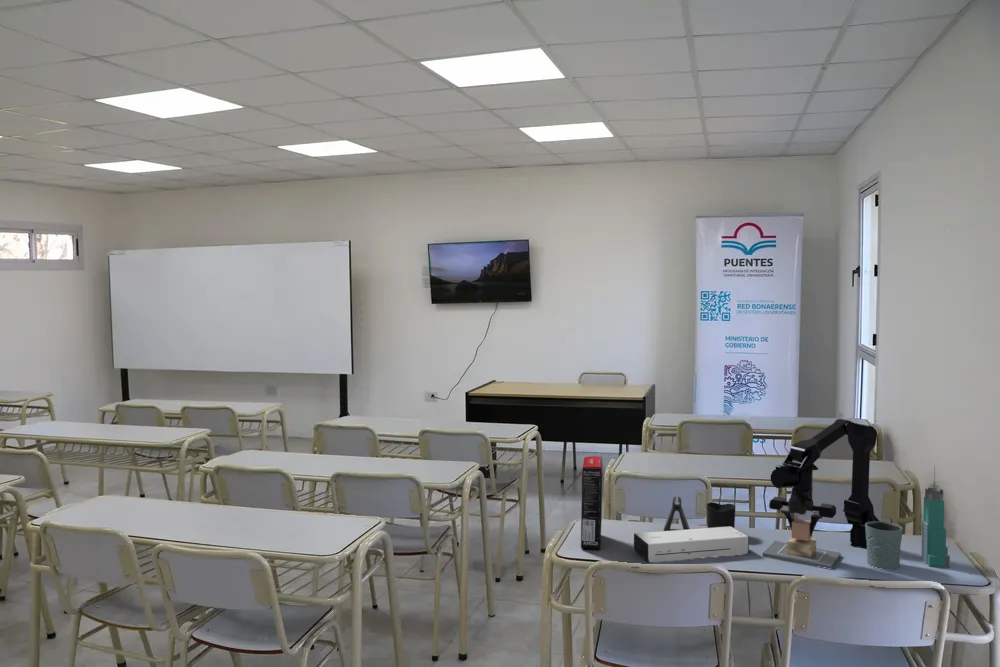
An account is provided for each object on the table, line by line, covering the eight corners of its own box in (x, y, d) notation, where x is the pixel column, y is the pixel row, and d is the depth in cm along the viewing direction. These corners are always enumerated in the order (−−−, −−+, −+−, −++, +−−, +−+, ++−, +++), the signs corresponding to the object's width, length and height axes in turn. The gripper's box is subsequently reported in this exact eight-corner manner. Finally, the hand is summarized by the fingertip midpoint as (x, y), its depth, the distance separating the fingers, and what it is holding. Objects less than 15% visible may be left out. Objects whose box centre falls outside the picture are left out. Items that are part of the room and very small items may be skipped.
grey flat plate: (840, 555, 231) (840, 552, 231) (831, 569, 220) (831, 565, 220) (774, 543, 243) (774, 540, 243) (762, 556, 231) (762, 552, 231)
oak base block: (816, 551, 232) (816, 539, 232) (810, 558, 226) (811, 545, 226) (792, 547, 236) (793, 535, 236) (787, 553, 230) (787, 541, 230)
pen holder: (719, 528, 260) (720, 500, 259) (741, 535, 251) (741, 506, 251) (700, 533, 255) (700, 504, 254) (721, 540, 247) (722, 511, 246)
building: (943, 560, 226) (945, 463, 225) (950, 567, 220) (952, 468, 219) (921, 559, 228) (923, 463, 226) (928, 566, 222) (930, 467, 220)
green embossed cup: (873, 570, 218) (874, 530, 218) (858, 558, 229) (859, 520, 228) (908, 570, 218) (909, 530, 218) (891, 558, 228) (892, 520, 228)
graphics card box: (582, 533, 255) (582, 455, 254) (602, 534, 254) (602, 455, 253) (580, 550, 238) (580, 466, 237) (602, 551, 237) (602, 467, 236)
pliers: (690, 531, 257) (690, 497, 256) (690, 536, 251) (690, 501, 250) (663, 529, 259) (663, 495, 258) (663, 534, 253) (663, 500, 253)
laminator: (647, 564, 226) (647, 544, 226) (632, 550, 238) (632, 531, 238) (748, 555, 233) (748, 536, 233) (729, 543, 245) (729, 524, 245)
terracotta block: (812, 536, 232) (812, 520, 231) (808, 540, 227) (808, 524, 227) (795, 533, 234) (795, 518, 234) (791, 538, 230) (791, 522, 230)
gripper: (764, 486, 229) (764, 535, 230) (829, 494, 218) (828, 546, 219) (774, 478, 238) (773, 526, 239) (836, 486, 227) (836, 536, 228)
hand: (801, 534), depth 231 cm, fingers closed on terracotta block, 5 cm apart
